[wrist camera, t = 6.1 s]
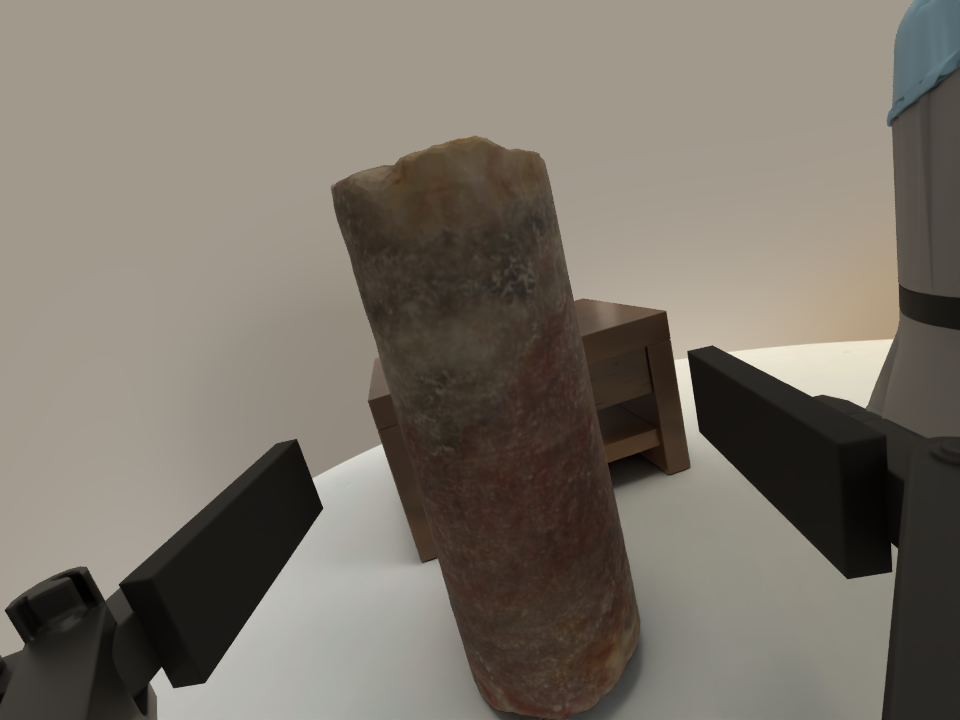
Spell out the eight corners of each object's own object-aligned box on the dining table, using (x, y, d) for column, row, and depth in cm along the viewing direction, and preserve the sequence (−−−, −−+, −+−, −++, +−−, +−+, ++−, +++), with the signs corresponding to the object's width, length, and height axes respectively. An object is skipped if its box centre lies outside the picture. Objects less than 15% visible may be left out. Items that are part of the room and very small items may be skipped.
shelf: (606, 411, 41) (583, 298, 39) (691, 467, 29) (666, 310, 27) (411, 475, 39) (374, 358, 36) (421, 563, 27) (367, 400, 25)
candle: (541, 560, 25) (442, 178, 20) (677, 613, 19) (587, 113, 15) (437, 671, 20) (273, 197, 15) (584, 784, 14) (402, 107, 10)
